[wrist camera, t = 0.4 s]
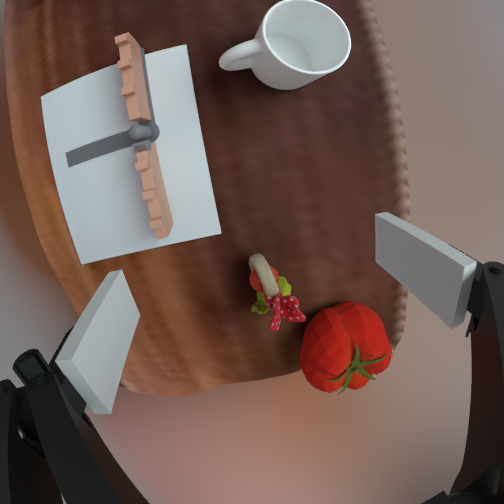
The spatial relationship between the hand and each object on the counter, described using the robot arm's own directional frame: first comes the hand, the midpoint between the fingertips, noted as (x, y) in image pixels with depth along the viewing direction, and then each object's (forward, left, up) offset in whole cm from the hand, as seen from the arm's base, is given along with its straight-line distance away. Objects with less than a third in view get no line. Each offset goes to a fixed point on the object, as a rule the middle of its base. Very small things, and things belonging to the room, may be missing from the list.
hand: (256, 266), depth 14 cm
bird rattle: (+12, +2, -22) cm, 25 cm away
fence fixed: (-14, -8, -22) cm, 27 cm away
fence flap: (-2, -8, -21) cm, 23 cm away
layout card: (-7, -12, -22) cm, 26 cm away
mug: (-15, +7, -22) cm, 27 cm away
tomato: (+24, +12, -22) cm, 35 cm away
